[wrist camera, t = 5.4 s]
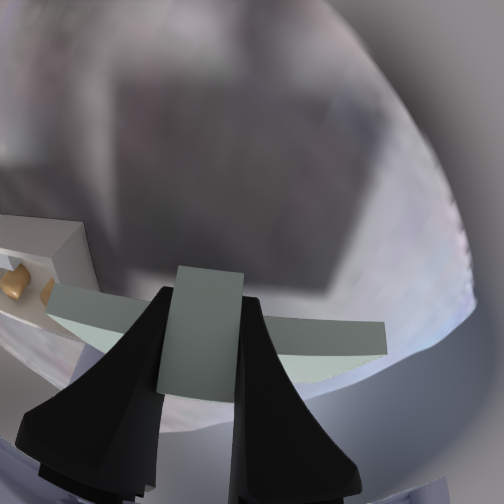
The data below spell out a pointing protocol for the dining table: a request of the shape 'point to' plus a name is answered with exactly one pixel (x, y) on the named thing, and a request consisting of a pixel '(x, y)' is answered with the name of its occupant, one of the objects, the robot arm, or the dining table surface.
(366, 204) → the dining table surface
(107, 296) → the lid
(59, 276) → the tub
